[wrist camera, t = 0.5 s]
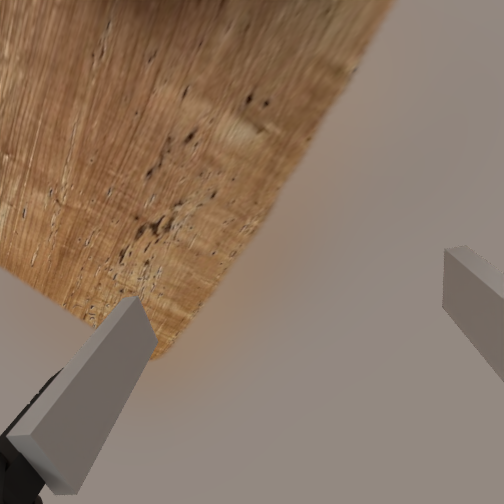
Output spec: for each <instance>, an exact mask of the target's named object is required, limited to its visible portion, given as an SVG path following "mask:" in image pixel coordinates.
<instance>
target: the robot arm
mask: <svg viewBox="0 0 504 504" xmlns="http://www.w3.org/2000/svg"><path fill="white" fill-rule="evenodd" d="M442 307H443V308H444V310H445V311H446V312H447V313H448V315H449V316H450V317H451V318H452V319H453V320H454V322H455V323H456V324H457V325H458V327H459V328H460V329H461V330H462V332H463V333H464V334H465V335H466V337H467V338H468V339H469V340H470V341H471V343H472V344H473V345H474V346H475V347H476V349H477V350H478V351H479V352H480V354H481V355H482V356H483V357H484V358H485V360H486V361H487V362H488V363H489V365H490V366H491V367H492V368H493V369H494V371H495V372H496V373H497V374H498V376H499V377H500V378H501V379H502V380H503V382H504V273H503V272H502V271H500V270H499V269H497V268H496V267H495V266H493V265H492V264H491V263H489V262H488V261H487V260H485V259H484V258H482V257H481V256H480V255H478V254H477V253H475V252H474V251H473V250H471V249H470V248H469V247H467V246H460V247H454V248H447V249H445V251H444V279H443V306H442ZM157 343H158V340H157V338H156V336H155V333H154V331H153V329H152V327H151V324H150V322H149V320H148V317H147V315H146V313H145V311H144V308H143V306H142V304H141V302H140V299H139V297H138V296H133V297H126V298H123V299H122V300H121V301H120V302H119V303H118V305H117V306H116V307H115V308H114V309H113V310H112V312H111V313H110V314H109V315H108V316H107V318H106V319H105V320H104V321H103V322H102V323H101V325H100V326H99V327H98V328H97V329H96V330H95V332H94V333H93V334H92V335H91V336H90V338H89V339H88V340H87V341H86V342H85V344H84V345H83V346H82V347H81V348H80V349H79V351H78V352H77V353H76V354H75V355H74V357H73V358H72V359H71V360H70V361H69V362H68V364H67V365H66V366H65V367H64V368H62V370H60V371H59V372H58V373H56V374H55V375H54V376H53V377H51V378H50V379H49V380H48V381H47V383H46V384H45V385H44V386H43V387H42V389H41V390H40V391H39V394H36V395H35V396H34V398H33V399H32V400H31V401H30V404H28V405H27V406H26V407H25V408H24V409H23V410H22V411H21V413H20V414H19V415H18V416H17V417H16V419H15V420H14V421H13V422H12V423H11V424H10V426H8V428H7V429H6V430H5V431H4V432H3V433H2V435H1V436H0V504H43V503H42V499H41V497H40V496H39V495H38V494H39V493H40V491H41V489H42V488H43V486H44V485H45V484H46V485H47V486H48V487H49V488H50V490H51V491H52V492H53V493H54V494H55V495H73V494H77V493H78V491H79V489H80V487H81V486H82V484H83V482H84V480H85V478H86V476H87V474H88V473H89V471H90V469H91V467H92V465H93V463H94V461H95V460H96V457H97V456H98V454H99V452H100V450H101V448H102V446H103V444H104V443H105V441H106V439H107V437H108V435H109V433H110V431H111V429H112V427H113V426H114V424H115V422H116V420H117V418H118V416H119V414H120V413H121V411H122V409H123V407H124V405H125V403H126V401H127V400H128V398H129V396H130V394H131V392H132V390H133V388H134V386H135V385H136V382H137V381H138V379H139V377H140V375H141V373H142V371H143V369H144V368H145V366H146V364H147V362H148V360H149V358H150V356H151V355H152V353H153V351H154V349H155V347H156V345H157Z"/></svg>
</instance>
